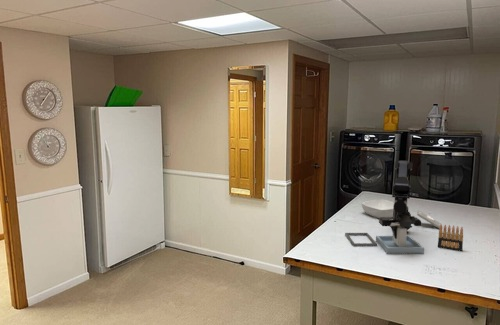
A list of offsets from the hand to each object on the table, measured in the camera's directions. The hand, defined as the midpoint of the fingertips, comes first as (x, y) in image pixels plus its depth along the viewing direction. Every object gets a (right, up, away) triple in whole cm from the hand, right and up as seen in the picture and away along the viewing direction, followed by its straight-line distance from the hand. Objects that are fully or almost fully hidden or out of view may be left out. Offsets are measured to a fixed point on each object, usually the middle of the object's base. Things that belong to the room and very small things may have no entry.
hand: (399, 238), depth 183 cm
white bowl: (+11, +3, +56) cm, 57 cm away
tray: (0, -4, +1) cm, 5 cm away
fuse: (0, -3, 0) cm, 3 cm away
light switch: (+31, 0, +33) cm, 45 cm away
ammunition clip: (+24, -5, -2) cm, 25 cm away
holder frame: (-16, -3, +11) cm, 19 cm away
